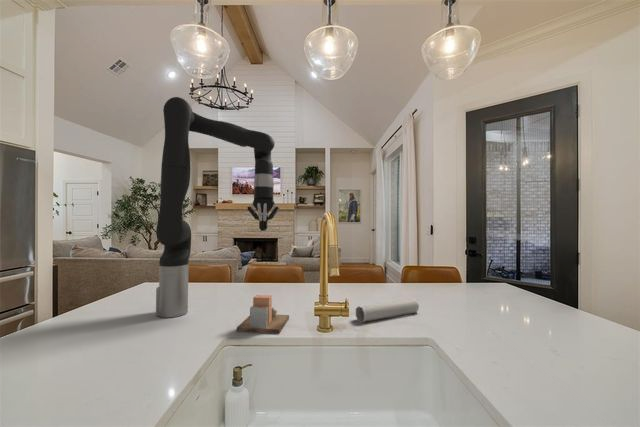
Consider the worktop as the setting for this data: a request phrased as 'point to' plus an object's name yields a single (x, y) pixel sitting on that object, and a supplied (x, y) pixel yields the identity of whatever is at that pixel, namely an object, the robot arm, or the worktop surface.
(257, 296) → the orange tall block
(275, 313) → the cable comb
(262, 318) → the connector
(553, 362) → the worktop surface
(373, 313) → the tube
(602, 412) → the worktop surface
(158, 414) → the worktop surface
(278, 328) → the brown wooden board
